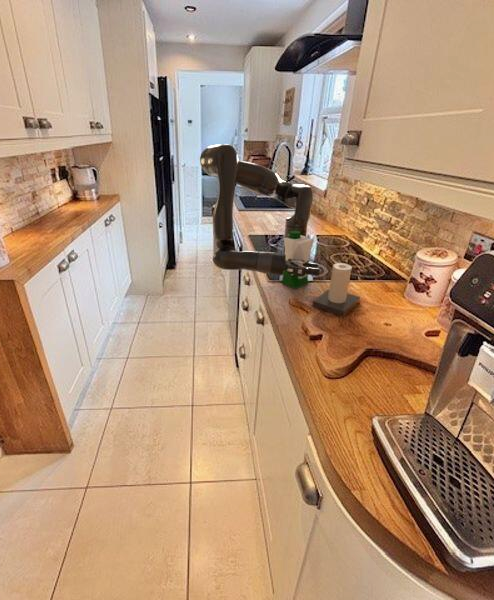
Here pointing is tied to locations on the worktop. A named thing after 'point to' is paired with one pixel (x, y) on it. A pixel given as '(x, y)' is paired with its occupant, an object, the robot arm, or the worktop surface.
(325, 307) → the slate board
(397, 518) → the worktop surface
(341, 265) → the paper roll
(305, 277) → the soya milk
